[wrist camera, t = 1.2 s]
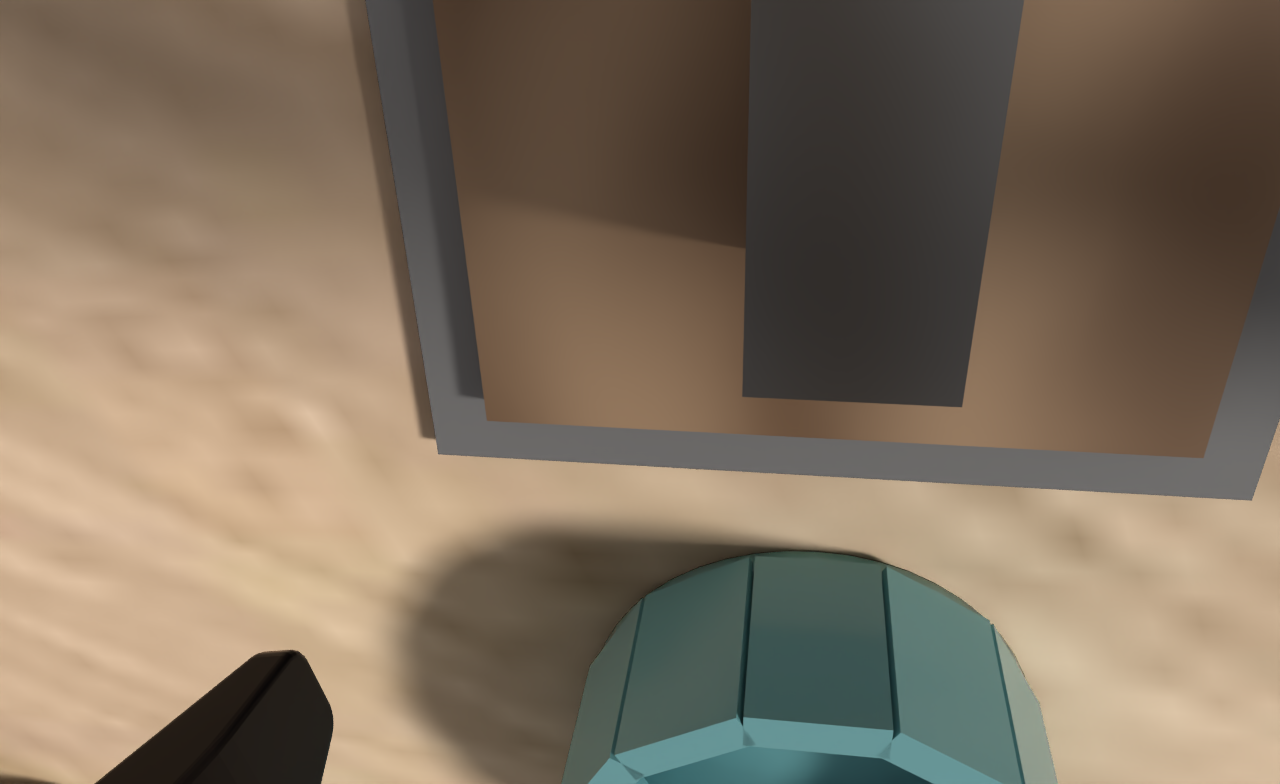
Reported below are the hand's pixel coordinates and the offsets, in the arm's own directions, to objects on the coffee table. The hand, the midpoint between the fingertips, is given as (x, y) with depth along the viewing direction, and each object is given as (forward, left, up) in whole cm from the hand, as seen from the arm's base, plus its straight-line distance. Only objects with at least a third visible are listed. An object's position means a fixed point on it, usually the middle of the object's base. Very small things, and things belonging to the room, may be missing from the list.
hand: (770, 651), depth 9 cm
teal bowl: (-1, +15, -12) cm, 19 cm away
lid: (-1, -2, -12) cm, 12 cm away
